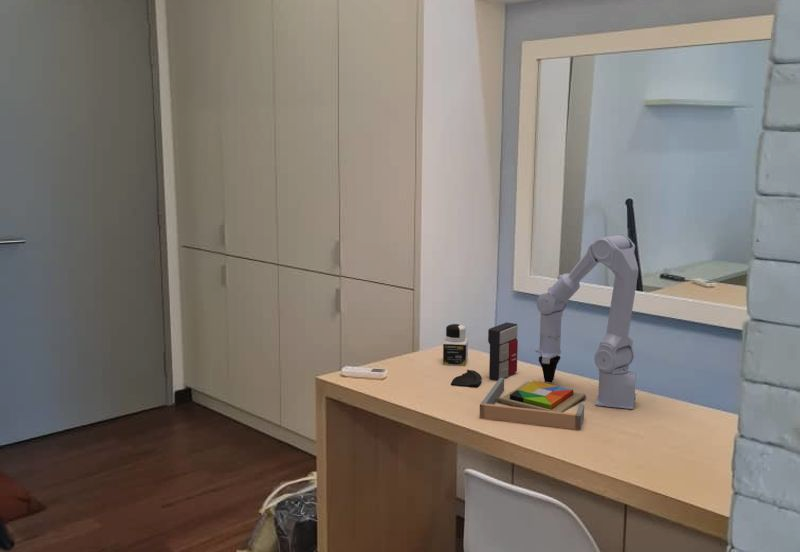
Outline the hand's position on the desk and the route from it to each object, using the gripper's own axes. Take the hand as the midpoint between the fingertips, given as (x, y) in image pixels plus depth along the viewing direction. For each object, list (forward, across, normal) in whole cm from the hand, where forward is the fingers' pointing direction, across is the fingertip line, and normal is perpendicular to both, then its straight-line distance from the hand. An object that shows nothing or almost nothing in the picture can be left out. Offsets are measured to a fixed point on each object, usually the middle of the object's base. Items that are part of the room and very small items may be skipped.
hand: (548, 381), depth 211 cm
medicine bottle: (+1, -13, -31) cm, 34 cm away
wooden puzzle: (+2, +14, 0) cm, 14 cm away
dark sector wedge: (+2, +4, -22) cm, 23 cm away
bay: (+1, +21, 0) cm, 21 cm away
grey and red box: (+1, -4, -14) cm, 15 cm away
